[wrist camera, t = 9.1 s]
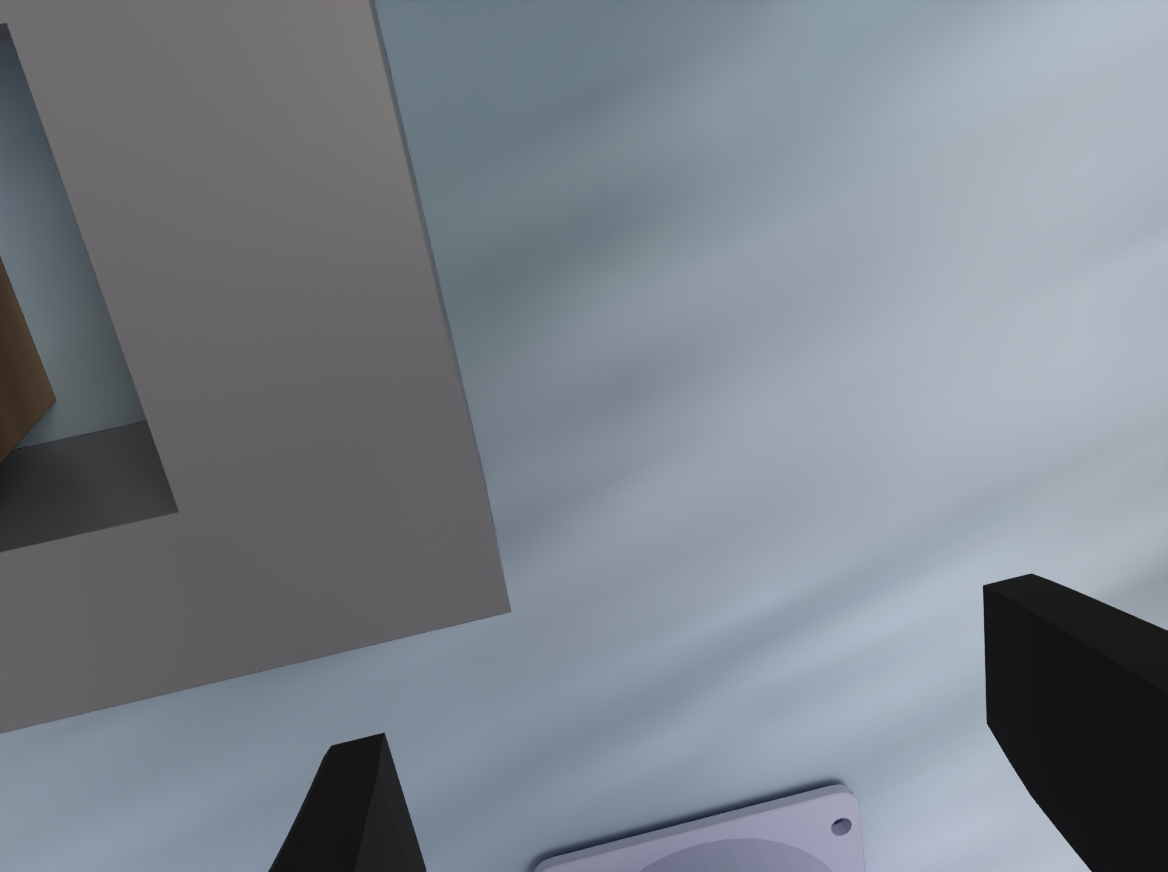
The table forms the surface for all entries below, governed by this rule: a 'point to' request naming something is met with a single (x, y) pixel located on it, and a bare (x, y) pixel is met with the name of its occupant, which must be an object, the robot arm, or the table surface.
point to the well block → (239, 363)
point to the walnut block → (18, 372)
